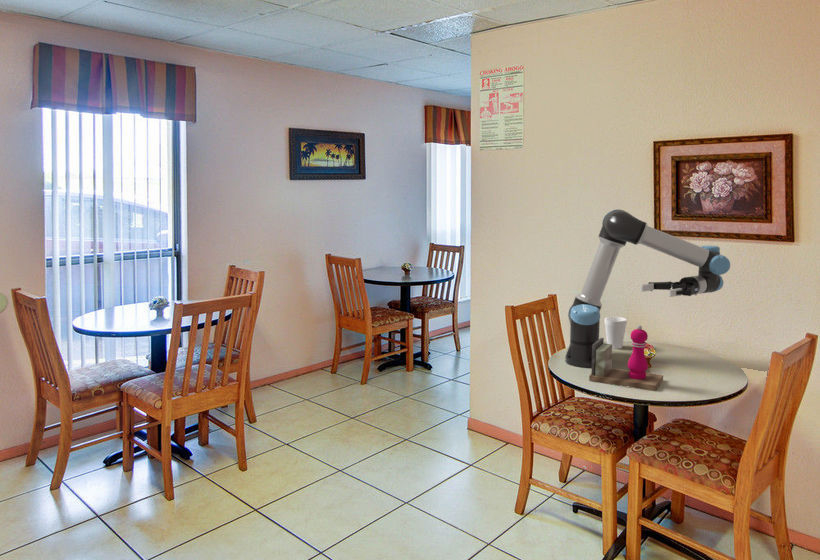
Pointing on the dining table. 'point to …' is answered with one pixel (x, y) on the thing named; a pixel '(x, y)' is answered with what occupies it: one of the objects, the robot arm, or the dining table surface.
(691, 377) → the dining table surface
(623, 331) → the foam cup
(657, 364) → the dining table surface
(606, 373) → the wooden bookend
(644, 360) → the pepper mill
